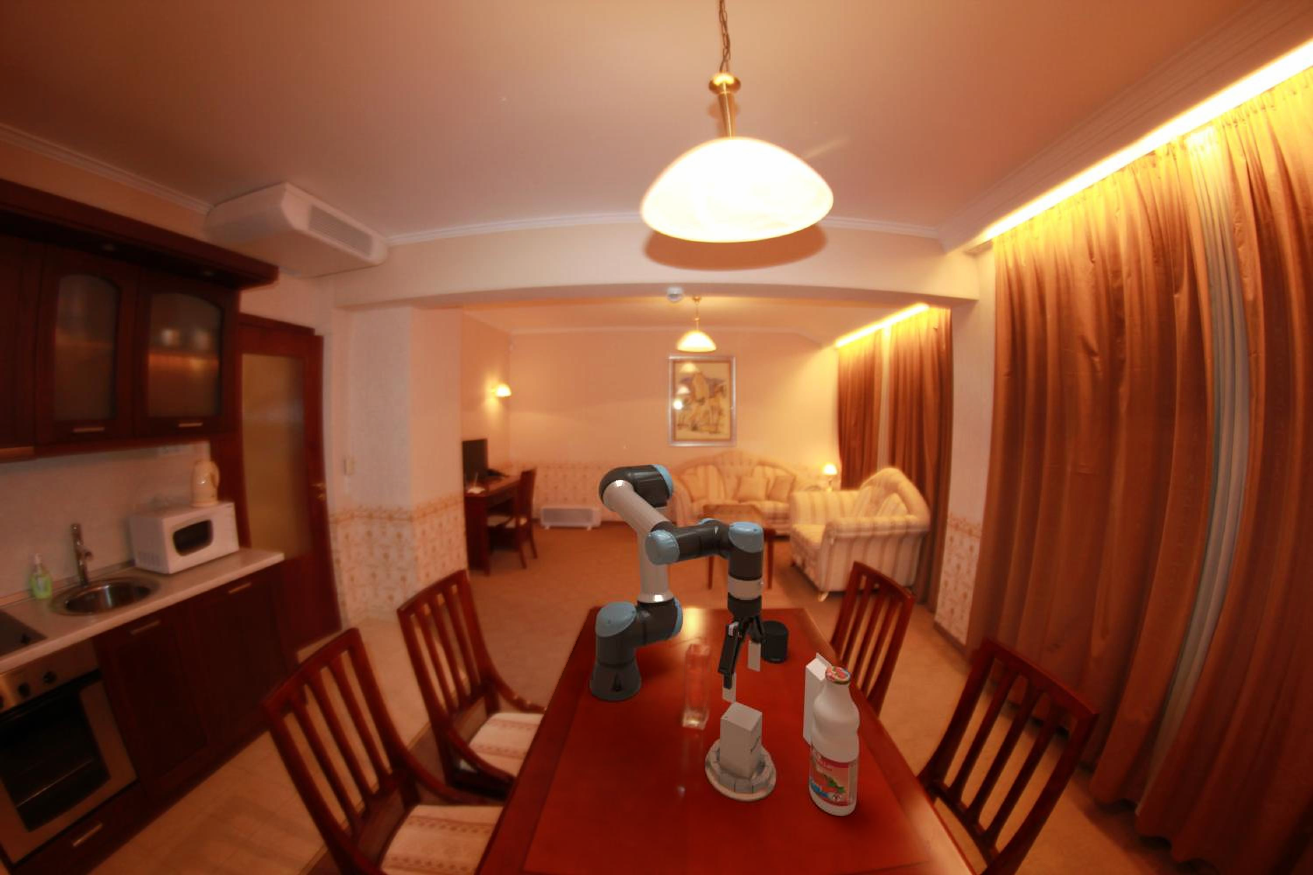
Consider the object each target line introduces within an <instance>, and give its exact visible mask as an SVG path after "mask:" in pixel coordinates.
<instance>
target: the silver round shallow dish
mask: <svg viewBox="0 0 1313 875" xmlns="http://www.w3.org/2000/svg"><path fill="white" fill-rule="evenodd" d="M719 759H720V738H719V739H717V740H715V741H714V743H713V744H712V746H711V747H710V748H709V751H708V752H707V754H706V757H705V759H704V761H705V762H704V771H705V775H706V777H707V780H708V782H709V783H710V784H711V786H712V787H713V788H714V789H715V790H716V791H717V792H718V793H720V794H722V795H723V796H724V797H727V798H729V799H731V800H734V801H737V802H747V803H748V802H749V803H750V802H751V803H752V802H756V801H760V800H762V799H764V798H767V796H769V795H770V794H771V793H772V791H773V790H774V788H775V786H776V782H777V770H776V767H775V766H776V765H775V764H774V762H773V760H772V756H771V755H770V752H769V751H768V750H766V749H765V747H764V746H763V745H762V744H761V760H760V765H759V766H758V768H757V769H756V771H755V773H754V775H753V777H752V778H751V779H750V780H747V779H736V778H734V777H732V776H730V775H728V774H727V773H725V772H723V770H722V769H721V768H720V766H719Z"/></svg>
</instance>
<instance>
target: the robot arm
mask: <svg viewBox="0 0 1313 875" xmlns="http://www.w3.org/2000/svg"><path fill="white" fill-rule="evenodd" d="M674 489H675V488H674V481H673V478H672V474H670V471H669V470H668V468H666V467H665V466H664V465H661V464H651V463H649V464H645V465H629V466H618V467H615V468H612V469H610V470H608V471H607V472H606V473H605V474H604V475H603V476H602V477H601V480H600V482H599V484H598V498H599V500H600V501H601V504H603V506H604V507H605V508H606V509H608V510H609V511H610V512H615V513H617V515H619V516H620V518H621V519H622V520H623V521H625V523H626V524H627V525H629V526H630V527H631V529H633V530H634V531H635V533H636V535H637V548H638V549H637V550H638V563H639V580H640V582H639V583H640V592H639V593H638V595H637V596H636V605H634V604H633V603H632V602H629V601H614V602H611V603H608V604H606V605H605V606H603V607H602V608H600V610H599V611H598V612H597V615H596V618H595V619H596V620H595V621H596V622H595V626H594V629H595V662H594V665H593V669H592V672H591V674H590V678H589V689H590V692H591V693H592V694H593V695H594V696H595V697H596V698H598V699H600V700H602V701H607V702H621V701H625V700H627V699H629V698H632V697H634V696H635V695H636V694H637V693H638V692H639V691H640V689H641V688H642V687H641V686H642V674H641V672H640V670H639V667H638V663H637V660H636V649H638V648H642V647H646V646H649V645H653V644H657V643H660V642H666V641H669V640H671V639H672V638H675V637H677V636H678V635H679V634H680V632H681V631H682V628H683V626H684V625H683V623H684V611H683V608H682V605H681V603H680V601H679V600H678V598H676V597H675V595H674V594H675V593H673V592H672V591H671V590H670V589H669V578H668V577H669V576H668V565H673V564H676V563H680V562H681V563H682V562H687V561H691V560H696V559H702V558H706V557H712V556H718V557H720V558H722V559H724V560H726V561H727V562H728V568H727V591H728V592H727V598H726V600H727V601H726V602H727V603H726V606H727V610H728V611H729V612H730V613H731V614H732V616H733V617H732V620H731V623H729V622H728V623H726V625H725V633H724V634H725V635H724V639H723V643H722V648H721V653H720V657H719V658H720V659H719V662H718V668H717V673H719V674H720V675H722V696H721V697H722V700H724V701H727V702H728V703H731V704H732V703H733V704H734V703H735V702H737V701H736V697H737V695H736V694H737V692H736V691H737V672H736V667H737V664H738V661H739V656H740V653H741V650H742V645H743V644H745V643H746V640H747V637H749V639H750V640H749V641H748V646H747V647H748V651H747V652H748V653H747V654H748V655H747V656H748V657H747V668H748V669H750V670H753V671H755V672H760V670H761V655H760V649H761V644H760V643H763V644H764V642H765V639H764V638H762V637H764V635H765V631H764V626H763V617H762V609H763V608H762V607H763V605H762V603H763V597H762V594H763V588H764V586H765V583H764V582H763V575H764V574H763V572H764V571H763V569H764V550H765V540H764V539H765V536H764V529H763V527H762V526H761V525H760V524H758V523H756V522H751V521H735V522H732V523H731V524H730V525H729V524H727V523H725V522H723V521H721V520H719V519H715V518H708V517H707V518H704V519H701V521H699V522H698V523H697V524H695V525H687V526H681V527H678V526H677V525H676V524H674V523H673V522H672V521H671V520H669V519H668V518H666V517H665V515H664V511H665V510H666V509H667V508H668V501H669V500H671V499H672V498H673V496H674V491H675V490H674Z"/></svg>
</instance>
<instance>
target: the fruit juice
mask: <svg viewBox="0 0 1313 875" xmlns="http://www.w3.org/2000/svg"><path fill="white" fill-rule="evenodd" d="M825 679H826V683H825V686H824V688H823V690H822V692H821V693H820V694H819V695H818V696H817V697H816V699H815V701H814V704H813V714H814V718H815V721H814V723H813V725H812V732H811V746H810V756H809V779H808V780H809V782H808V783H809V784H808V788H809V793H810V796H811V798H812V801H813V802H814V803H815V804H816V805H817V806H818V807H819V808H820V809H821V810H822V811H824V812H826V813H828V814H830V815H834V816H840V817H844V816H848V815H849V814H852V812H853V811H854V810H855V808H856V804H857V796H858V794H857V792H858V776H859V775H858V773H859V772H858V771H859V754H860V742H859V741H860V740H859V735H858V732H857V731H858V729H859V726H860V712H859V709H858V707H857V705H856V704H855V702H854V701H853V699H852V697H851V693H850V688H849V686H850V684H851V674H850V673H849V671H848V670H846V669H844V668H842V667H840V666H834V665H832V667H828V668H827V669H826V671H825Z"/></svg>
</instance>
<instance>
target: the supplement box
mask: <svg viewBox="0 0 1313 875" xmlns="http://www.w3.org/2000/svg"><path fill="white" fill-rule="evenodd" d="M762 725H763V712H761V711H759V710H757V709H754V708H752V707H751V706H747V705H744V704H743V703H739V702H738V701H735V703H734V704H733V703H731V704H730V705H729V707H728V708H727V710H726V711H725V712H724V713H723V715H722V716H721V717H720V731H719V732H720V734H719V739H720V759H719V766H720V768H721V769H722V770H723V772H725V773H727V774H728V775H730V776H732V777H734V778H736V779H747V780H750V779H751V778H752V777H753V775H754V773H755V771H756V769H757V768H758V766H759V765H760V760H761V745H762V734H763V733H762V730H763V729H762V728H763V727H762Z"/></svg>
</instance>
